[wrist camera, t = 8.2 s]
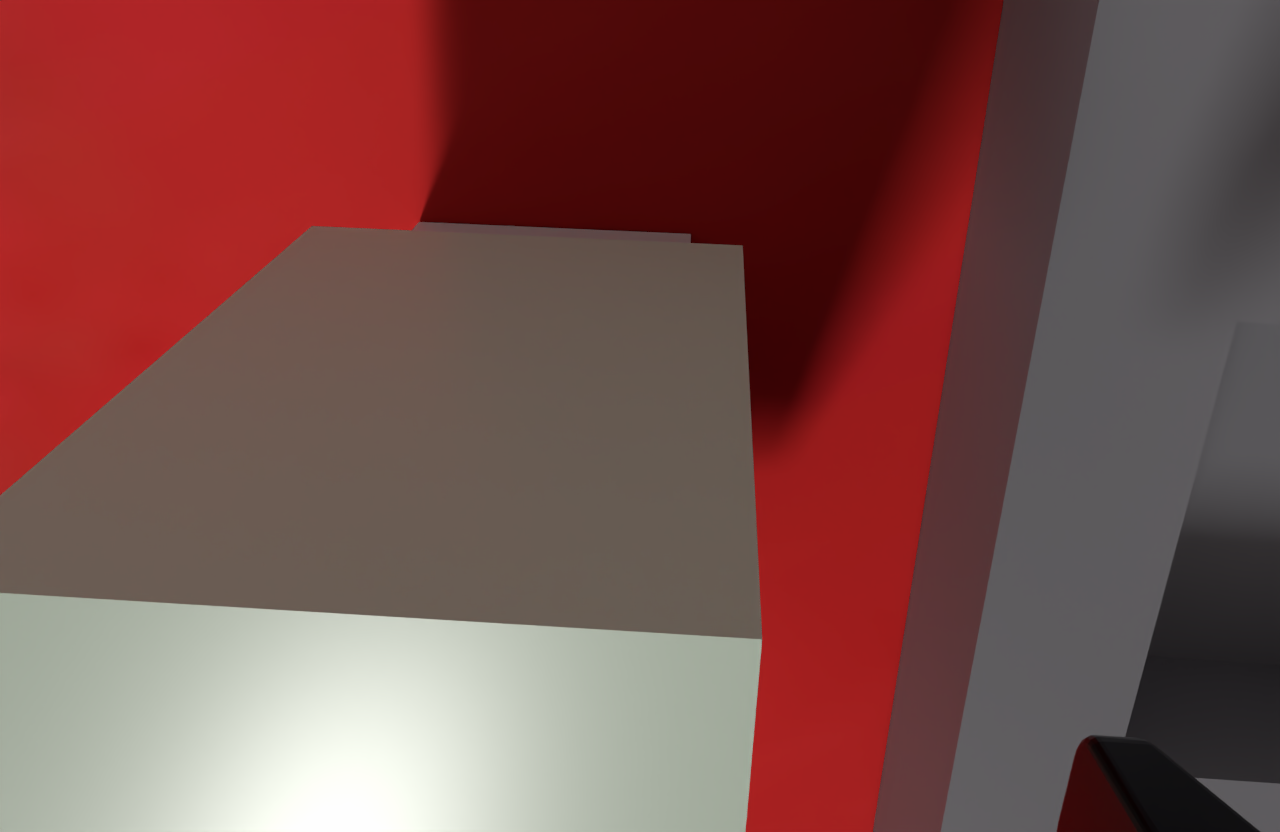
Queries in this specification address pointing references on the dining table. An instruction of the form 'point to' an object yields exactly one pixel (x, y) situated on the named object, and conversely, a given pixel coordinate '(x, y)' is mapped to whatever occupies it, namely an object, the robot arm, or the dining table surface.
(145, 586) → the block
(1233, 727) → the power strip
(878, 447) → the dining table surface
